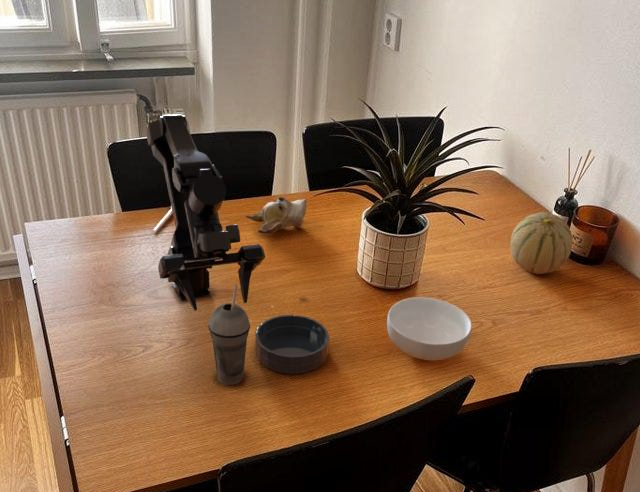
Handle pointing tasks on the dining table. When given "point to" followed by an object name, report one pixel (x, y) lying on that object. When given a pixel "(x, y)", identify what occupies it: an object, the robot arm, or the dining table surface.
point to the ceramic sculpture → (280, 215)
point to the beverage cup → (229, 340)
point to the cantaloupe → (541, 243)
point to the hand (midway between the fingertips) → (221, 306)
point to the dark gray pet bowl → (291, 344)
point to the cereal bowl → (428, 328)
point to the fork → (163, 220)
